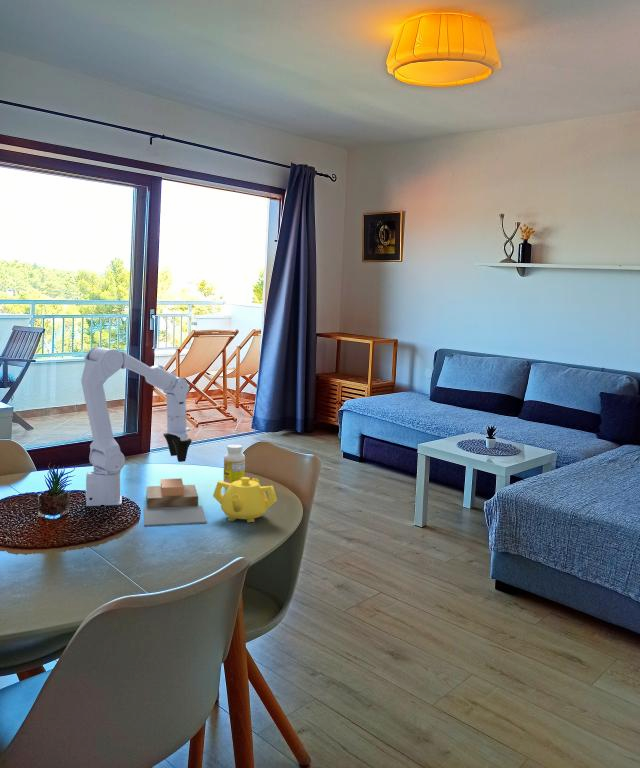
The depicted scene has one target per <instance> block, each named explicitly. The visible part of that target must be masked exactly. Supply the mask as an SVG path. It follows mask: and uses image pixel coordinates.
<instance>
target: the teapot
mask: <svg viewBox="0 0 640 768" xmlns="http://www.w3.org/2000/svg"><path fill="white" fill-rule="evenodd" d="M222 488H225V489H226V490H225V492H224V494H222V490H223V489H222ZM266 492H267V493H266ZM212 497H213V498H214V499H215V500H216V501H217V502H218V503H219V504H220V509H221V511H222V512H223V513H224V515H226V516H227V517H228V518H227V521H228V522H229V521H230V522H234V521H233V520H235V521H236V520H238V519H239V520H246V523H248V522H254V521H255V520H256V519H257V518H260V517H262V516H263V515H264V514H265V513H266V512H267V510H268V509H269V508H270V507H272V505H273V504H275V503H277V501H278V499H277V494H276V490H275V488H274V485H267V486H261V484H260V479H259V478H256V477H252V479H251V477H248V476H245V477H242V478H241V480H238V481H234V482H232V483H227V482H224V480H218V482H217V483H216V487H215V489H214V491H213V494H212ZM255 522H256V521H255ZM255 522H254V523H255Z"/></svg>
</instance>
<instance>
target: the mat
mask: <svg viewBox="0 0 640 768" xmlns="http://www.w3.org/2000/svg"><path fill="white" fill-rule="evenodd" d="M143 520H144V521H143V522H144V523H143V524H144V527H153V526H154V527H155V526H174V525H194V524H195V525H197V524H207V523H208V521H207V518H206V515H205V511H204V508H203V506H202V505H198V506H182V507H158V508H147V507H144V508H143Z"/></svg>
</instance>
